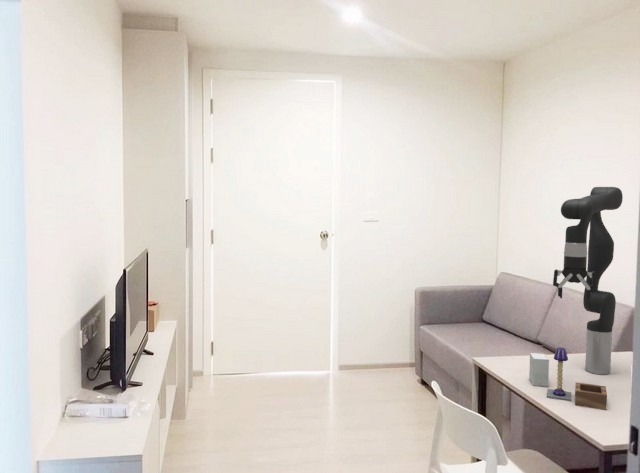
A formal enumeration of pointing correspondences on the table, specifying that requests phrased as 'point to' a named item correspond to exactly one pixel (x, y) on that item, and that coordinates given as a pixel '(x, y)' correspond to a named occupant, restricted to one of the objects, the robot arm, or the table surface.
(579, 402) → the wooden cube shelf
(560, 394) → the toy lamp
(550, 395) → the slate pad
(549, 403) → the table surface
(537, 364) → the small box
